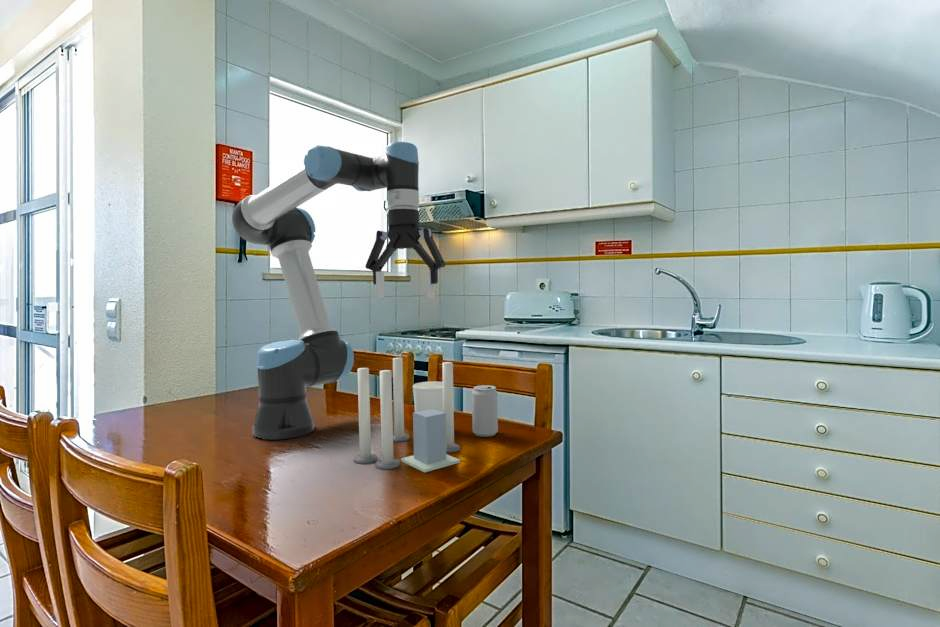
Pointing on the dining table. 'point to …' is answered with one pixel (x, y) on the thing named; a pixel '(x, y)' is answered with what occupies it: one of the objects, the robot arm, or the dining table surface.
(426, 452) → the block
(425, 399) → the white cup
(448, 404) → the gate posts
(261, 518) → the dining table surface
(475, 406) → the beverage can
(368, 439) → the gate posts
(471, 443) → the dining table surface
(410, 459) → the pad
